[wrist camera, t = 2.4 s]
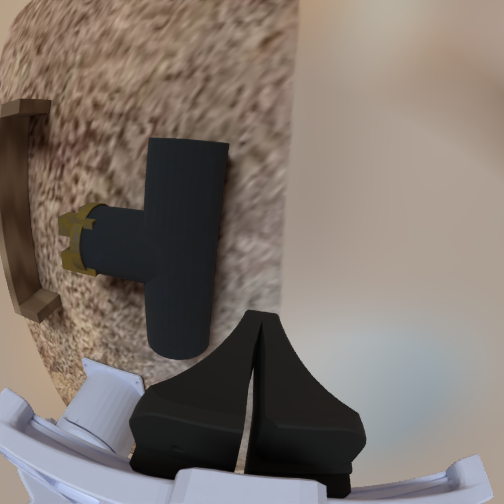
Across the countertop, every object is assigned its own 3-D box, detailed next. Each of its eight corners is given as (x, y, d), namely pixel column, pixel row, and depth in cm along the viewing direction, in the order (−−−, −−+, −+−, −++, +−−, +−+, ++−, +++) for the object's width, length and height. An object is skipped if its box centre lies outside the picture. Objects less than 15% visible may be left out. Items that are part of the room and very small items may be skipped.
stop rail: (61, 304, 25) (39, 323, 21) (36, 295, 25) (15, 312, 21) (51, 100, 18) (20, 98, 14) (24, 106, 18) (-5, 106, 14)
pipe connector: (70, 331, 20) (52, 139, 14) (99, 300, 24) (94, 136, 19) (201, 366, 19) (221, 143, 14) (214, 325, 24) (234, 143, 19)
